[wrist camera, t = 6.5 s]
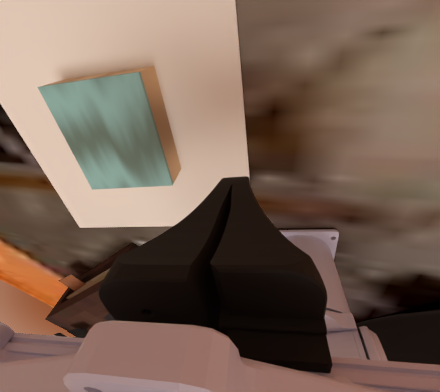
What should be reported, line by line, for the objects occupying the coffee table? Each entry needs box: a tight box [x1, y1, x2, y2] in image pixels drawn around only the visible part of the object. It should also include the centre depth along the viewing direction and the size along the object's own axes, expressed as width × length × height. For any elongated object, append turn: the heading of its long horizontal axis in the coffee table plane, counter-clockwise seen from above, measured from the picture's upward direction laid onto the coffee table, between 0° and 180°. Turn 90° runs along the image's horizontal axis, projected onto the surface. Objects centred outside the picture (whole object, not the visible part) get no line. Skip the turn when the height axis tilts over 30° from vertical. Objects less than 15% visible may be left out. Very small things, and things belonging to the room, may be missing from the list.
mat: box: [0, 0, 250, 228], centre depth 22 cm, size 24×22×1 cm
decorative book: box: [46, 243, 138, 338], centre depth 37 cm, size 19×8×30 cm
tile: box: [38, 66, 181, 190], centre depth 20 cm, size 9×3×8 cm
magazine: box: [355, 309, 440, 365], centre depth 32 cm, size 17×3×30 cm
